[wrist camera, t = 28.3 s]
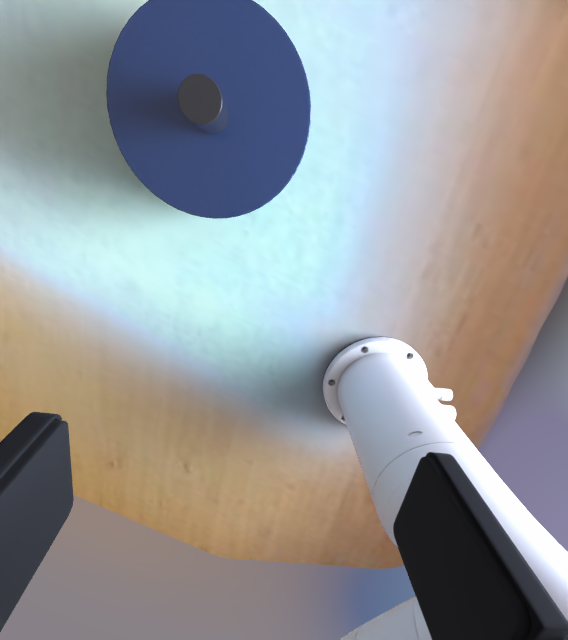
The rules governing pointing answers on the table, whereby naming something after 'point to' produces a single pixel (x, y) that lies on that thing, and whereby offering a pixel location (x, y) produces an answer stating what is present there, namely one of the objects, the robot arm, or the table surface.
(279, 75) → the pot lid
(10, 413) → the table surface
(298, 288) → the table surface
